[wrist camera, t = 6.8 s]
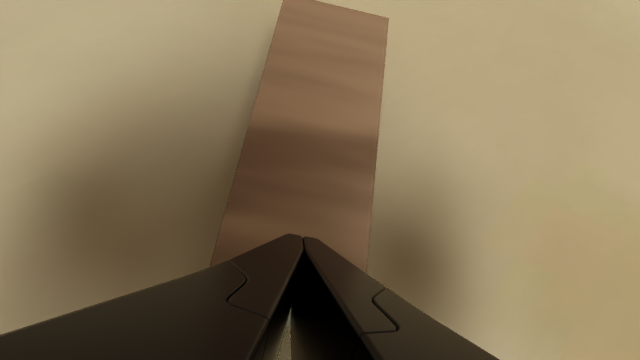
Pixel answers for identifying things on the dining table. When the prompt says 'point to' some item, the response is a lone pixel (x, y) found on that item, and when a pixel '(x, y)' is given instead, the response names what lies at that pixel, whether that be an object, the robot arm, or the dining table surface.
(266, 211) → the walnut block
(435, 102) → the dining table surface
